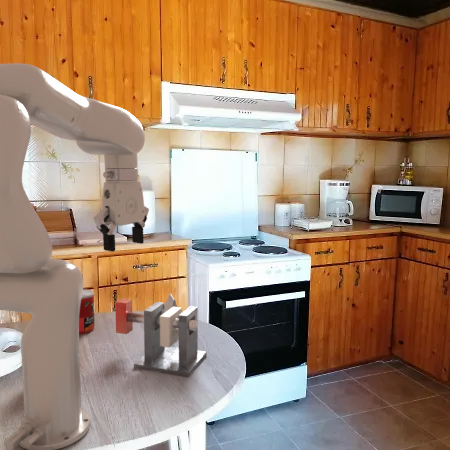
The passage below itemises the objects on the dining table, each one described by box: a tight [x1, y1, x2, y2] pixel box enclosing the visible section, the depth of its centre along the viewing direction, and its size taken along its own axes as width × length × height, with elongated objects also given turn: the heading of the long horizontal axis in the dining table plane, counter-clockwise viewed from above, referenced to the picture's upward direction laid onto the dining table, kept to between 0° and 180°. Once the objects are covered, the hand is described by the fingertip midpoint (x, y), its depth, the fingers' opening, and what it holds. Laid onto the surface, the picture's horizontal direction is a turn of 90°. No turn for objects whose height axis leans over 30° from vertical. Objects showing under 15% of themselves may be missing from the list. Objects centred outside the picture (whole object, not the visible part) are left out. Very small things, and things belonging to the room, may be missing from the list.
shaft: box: [114, 297, 199, 335], centre depth 105 cm, size 3×21×8 cm, turn 72°
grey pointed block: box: [164, 293, 178, 313], centre depth 125 cm, size 4×7×10 cm, turn 18°
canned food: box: [79, 288, 96, 335], centre depth 124 cm, size 8×8×11 cm
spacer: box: [160, 306, 183, 347], centre depth 104 cm, size 7×2×7 cm, turn 162°
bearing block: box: [133, 301, 207, 378], centre depth 105 cm, size 12×14×14 cm
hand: (124, 246), depth 104 cm, fingers open, 9 cm apart
